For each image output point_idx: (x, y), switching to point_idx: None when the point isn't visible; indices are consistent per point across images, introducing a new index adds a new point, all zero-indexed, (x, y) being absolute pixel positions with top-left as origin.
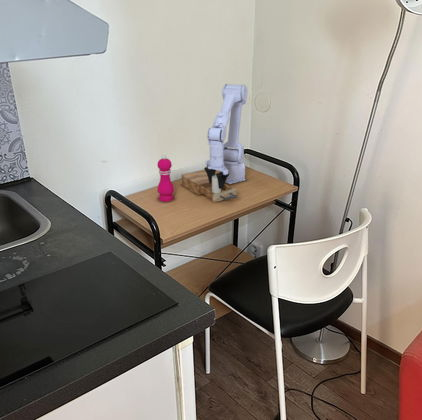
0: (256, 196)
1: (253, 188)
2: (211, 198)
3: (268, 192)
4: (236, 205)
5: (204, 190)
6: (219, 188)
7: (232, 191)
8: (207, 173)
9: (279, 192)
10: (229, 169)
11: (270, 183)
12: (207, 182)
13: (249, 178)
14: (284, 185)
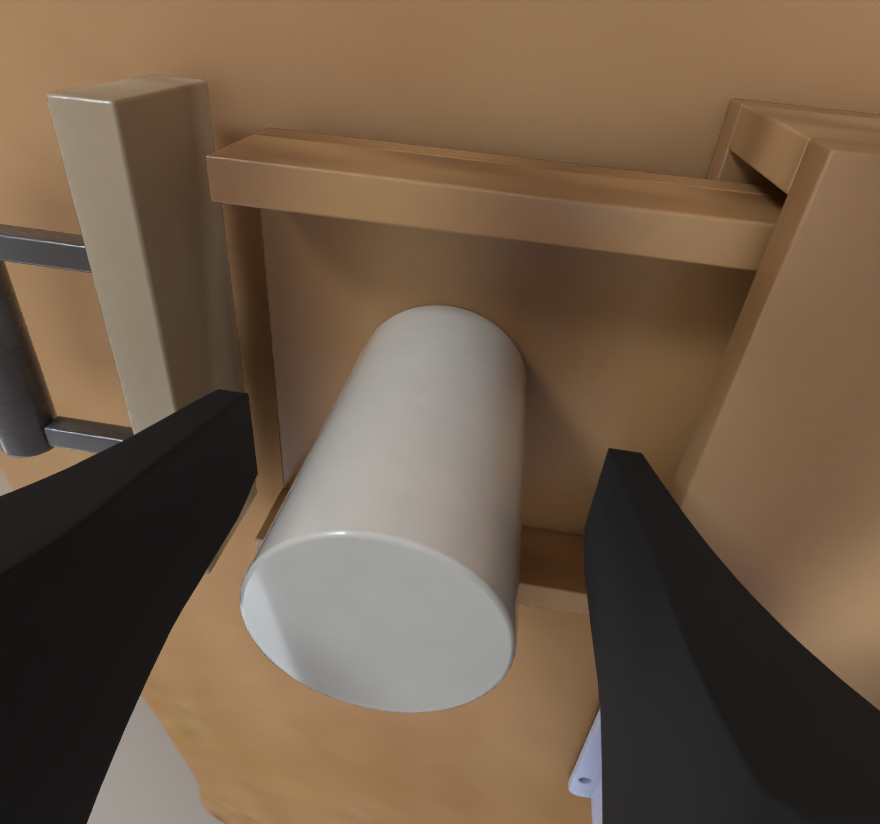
0: (180, 613)
1: None
2: (279, 129)
3: (216, 709)
4: None
5: (559, 184)
6: (218, 390)
7: None
8: (734, 642)
9: (177, 741)
10: None
11: (370, 809)
12: (705, 442)
13: (580, 812)
14: (279, 819)
